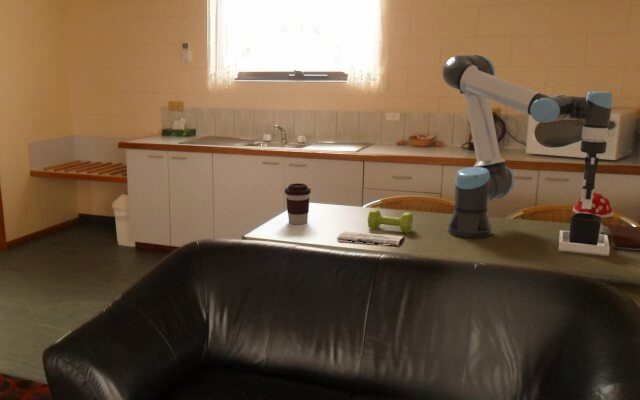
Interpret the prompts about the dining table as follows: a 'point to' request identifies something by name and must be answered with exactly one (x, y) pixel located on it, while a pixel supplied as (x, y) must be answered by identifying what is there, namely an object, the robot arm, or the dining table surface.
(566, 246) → the tray
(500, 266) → the dining table surface
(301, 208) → the coffee cup
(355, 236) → the newspaper
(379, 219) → the dumbbell
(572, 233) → the pen holder
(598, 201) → the decorative mushroom
